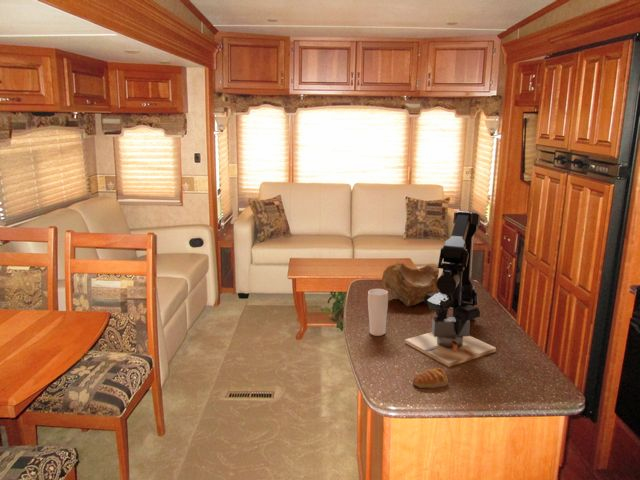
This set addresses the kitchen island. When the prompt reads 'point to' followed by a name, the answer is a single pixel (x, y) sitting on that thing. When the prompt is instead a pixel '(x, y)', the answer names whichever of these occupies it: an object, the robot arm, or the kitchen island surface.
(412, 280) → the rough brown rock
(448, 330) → the coupling
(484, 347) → the beige square board
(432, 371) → the pastry
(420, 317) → the kitchen island surface
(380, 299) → the drinking glass
